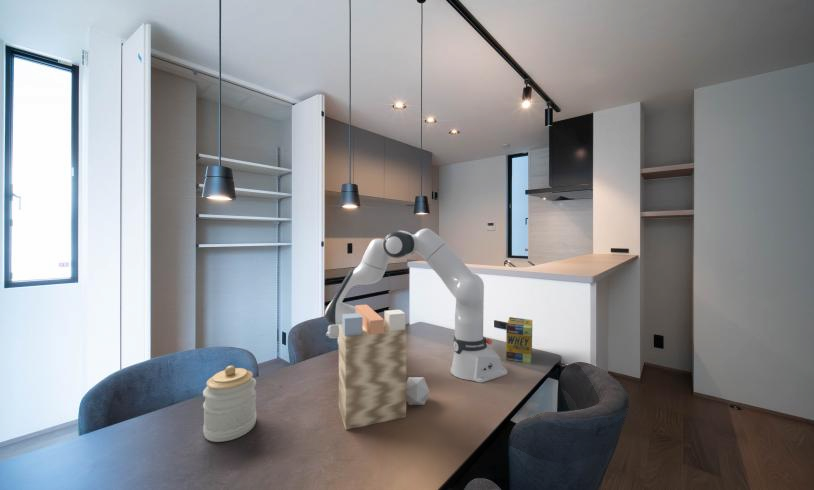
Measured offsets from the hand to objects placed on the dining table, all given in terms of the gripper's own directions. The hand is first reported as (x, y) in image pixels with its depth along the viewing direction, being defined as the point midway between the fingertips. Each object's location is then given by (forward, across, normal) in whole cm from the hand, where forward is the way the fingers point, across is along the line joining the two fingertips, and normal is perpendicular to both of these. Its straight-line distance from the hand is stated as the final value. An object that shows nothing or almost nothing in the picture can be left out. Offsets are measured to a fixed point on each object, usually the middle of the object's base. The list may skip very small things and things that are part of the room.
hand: (357, 323), depth 115 cm
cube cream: (+22, +6, +8) cm, 24 cm away
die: (+6, +15, +29) cm, 34 cm away
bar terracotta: (+16, 0, +5) cm, 17 cm away
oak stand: (+7, 0, +29) cm, 30 cm away
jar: (+2, -39, +26) cm, 47 cm away
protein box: (-12, +74, +19) cm, 77 cm away
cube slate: (+22, -7, +8) cm, 24 cm away
